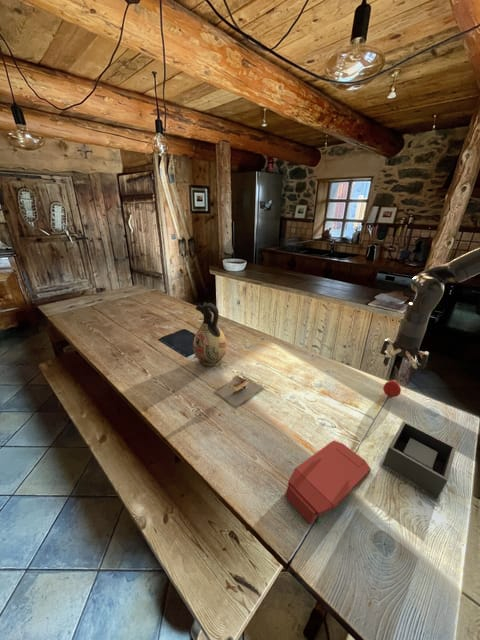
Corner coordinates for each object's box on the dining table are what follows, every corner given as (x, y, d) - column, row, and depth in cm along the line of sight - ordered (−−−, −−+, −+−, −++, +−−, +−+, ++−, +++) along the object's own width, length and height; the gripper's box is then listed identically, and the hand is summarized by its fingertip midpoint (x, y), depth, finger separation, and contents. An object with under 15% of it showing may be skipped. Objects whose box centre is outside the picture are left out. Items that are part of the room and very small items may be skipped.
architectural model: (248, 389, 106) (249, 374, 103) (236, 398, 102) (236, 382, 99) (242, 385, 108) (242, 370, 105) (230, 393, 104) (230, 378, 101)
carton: (332, 450, 86) (279, 490, 70) (335, 438, 84) (282, 477, 69) (367, 479, 77) (317, 532, 62) (373, 466, 76) (322, 518, 60)
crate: (396, 438, 86) (403, 420, 83) (446, 465, 78) (456, 447, 74) (381, 465, 77) (388, 447, 74) (436, 500, 69) (447, 481, 66)
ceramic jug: (187, 361, 124) (181, 301, 111) (211, 348, 134) (209, 292, 121) (211, 376, 113) (209, 313, 100) (236, 361, 124) (236, 301, 111)
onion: (383, 400, 102) (388, 383, 98) (379, 390, 107) (384, 374, 103) (399, 402, 101) (405, 386, 97) (395, 392, 106) (401, 376, 102)
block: (405, 448, 82) (410, 437, 79) (432, 463, 77) (437, 452, 75) (398, 463, 77) (403, 452, 75) (426, 480, 73) (432, 468, 71)
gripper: (438, 335, 89) (422, 374, 96) (392, 321, 98) (381, 358, 105) (433, 343, 84) (417, 383, 91) (385, 328, 93) (374, 365, 100)
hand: (398, 369), depth 98 cm, fingers open, 8 cm apart
